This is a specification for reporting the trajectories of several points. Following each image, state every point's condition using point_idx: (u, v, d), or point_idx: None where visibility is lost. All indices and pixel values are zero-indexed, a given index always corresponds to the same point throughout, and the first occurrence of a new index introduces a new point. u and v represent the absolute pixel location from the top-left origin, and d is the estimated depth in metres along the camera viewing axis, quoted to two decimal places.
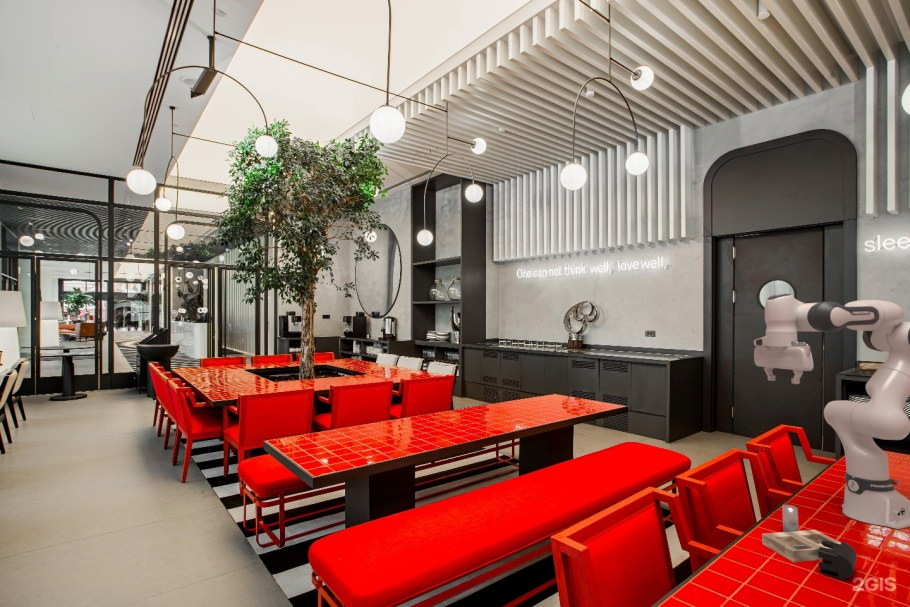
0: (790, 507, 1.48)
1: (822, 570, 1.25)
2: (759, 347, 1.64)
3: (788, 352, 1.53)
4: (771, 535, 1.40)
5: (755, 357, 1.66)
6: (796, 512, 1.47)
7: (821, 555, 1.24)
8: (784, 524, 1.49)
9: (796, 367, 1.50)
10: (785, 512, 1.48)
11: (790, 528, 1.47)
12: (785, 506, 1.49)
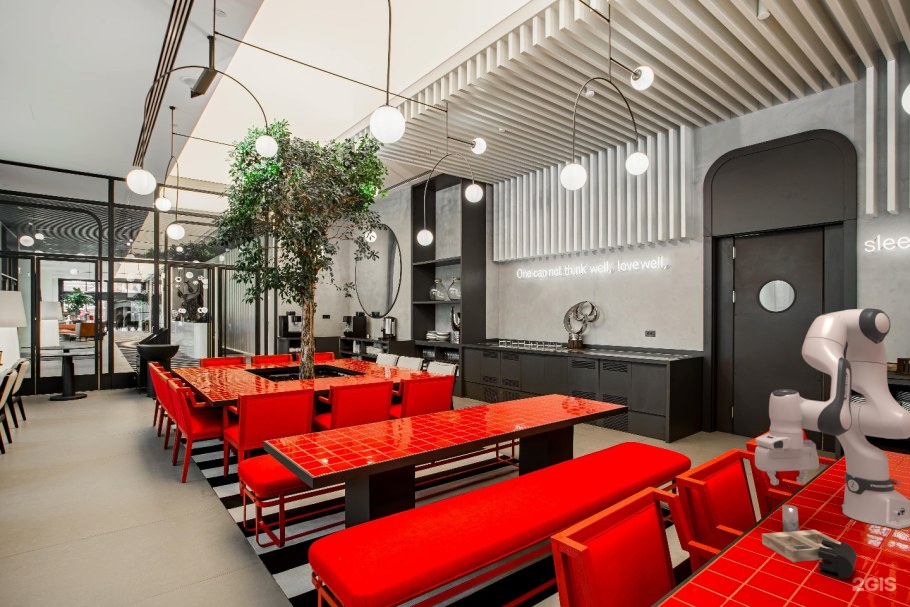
0: (790, 507, 1.48)
1: (822, 570, 1.25)
2: (775, 450, 1.46)
3: (803, 452, 1.49)
4: (771, 535, 1.40)
5: (766, 462, 1.46)
6: (796, 512, 1.47)
7: (821, 555, 1.24)
8: (784, 524, 1.49)
9: (811, 467, 1.49)
10: (785, 512, 1.48)
11: (790, 528, 1.47)
12: (785, 506, 1.49)
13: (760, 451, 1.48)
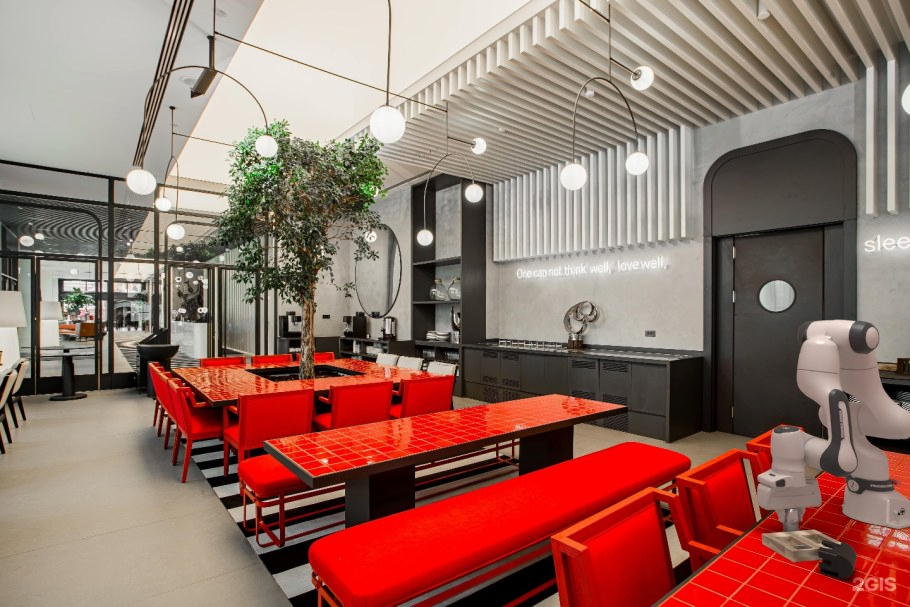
0: None
1: (822, 570, 1.25)
2: (777, 488, 1.46)
3: (805, 489, 1.48)
4: (771, 535, 1.40)
5: (769, 500, 1.46)
6: (796, 512, 1.47)
7: (821, 555, 1.24)
8: (784, 524, 1.49)
9: (814, 504, 1.48)
10: (785, 512, 1.48)
11: (790, 528, 1.47)
12: None
13: (762, 489, 1.48)
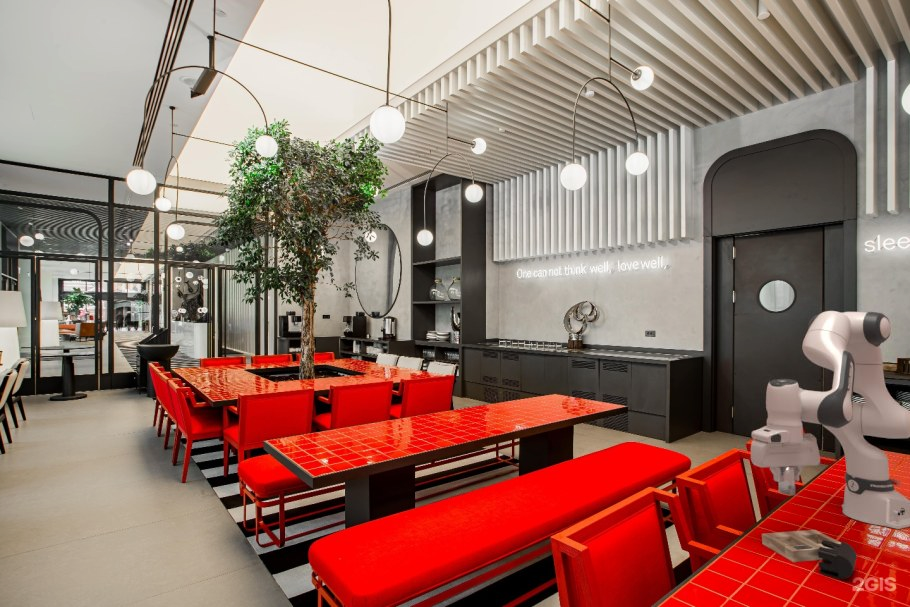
0: None
1: (822, 570, 1.25)
2: (772, 444, 1.35)
3: (802, 446, 1.38)
4: (771, 535, 1.40)
5: (763, 457, 1.35)
6: (792, 470, 1.37)
7: (821, 555, 1.24)
8: (779, 484, 1.38)
9: (812, 462, 1.38)
10: (781, 470, 1.38)
11: (786, 488, 1.36)
12: None
13: (756, 445, 1.38)
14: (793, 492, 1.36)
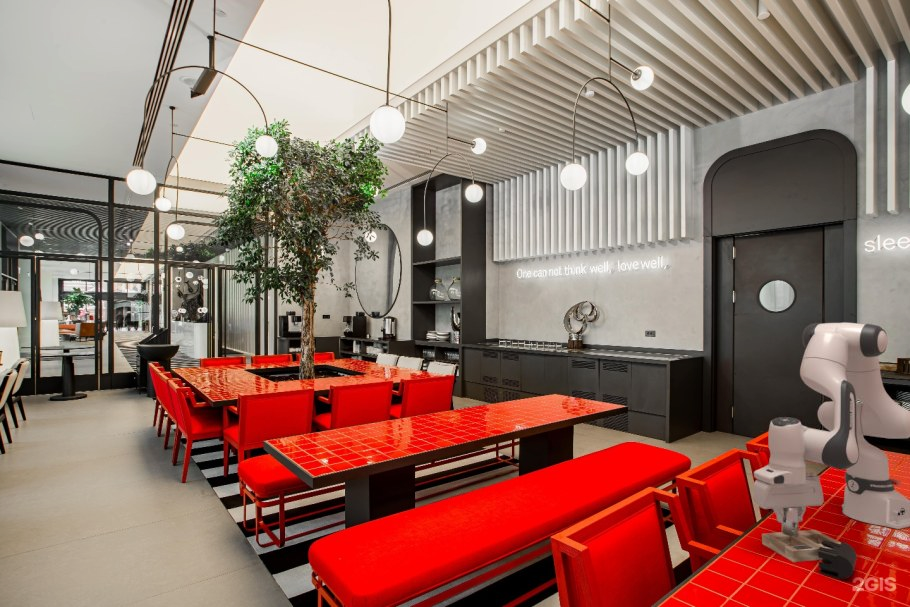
0: None
1: (822, 570, 1.25)
2: (775, 485, 1.33)
3: (805, 487, 1.36)
4: (771, 535, 1.40)
5: (766, 498, 1.34)
6: (796, 511, 1.35)
7: (821, 555, 1.24)
8: (783, 524, 1.36)
9: (815, 503, 1.36)
10: (784, 511, 1.36)
11: (790, 529, 1.35)
12: None
13: (759, 486, 1.36)
14: (796, 533, 1.34)
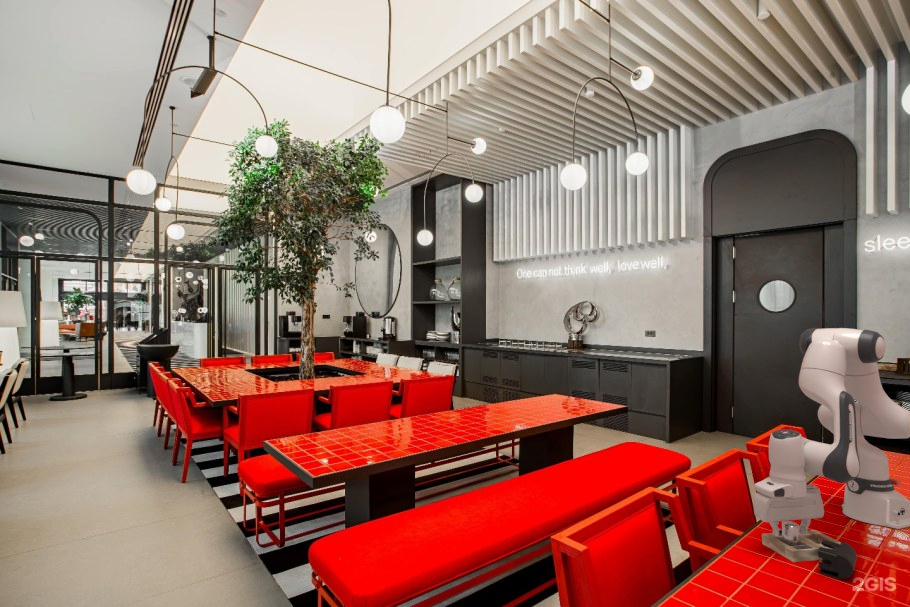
0: (790, 524, 1.36)
1: (822, 570, 1.25)
2: (776, 498, 1.33)
3: (806, 499, 1.36)
4: (771, 535, 1.40)
5: (766, 511, 1.33)
6: (797, 529, 1.35)
7: (821, 555, 1.24)
8: (784, 542, 1.36)
9: (816, 515, 1.36)
10: (785, 529, 1.36)
11: None
12: (785, 522, 1.37)
13: (759, 499, 1.36)
14: None
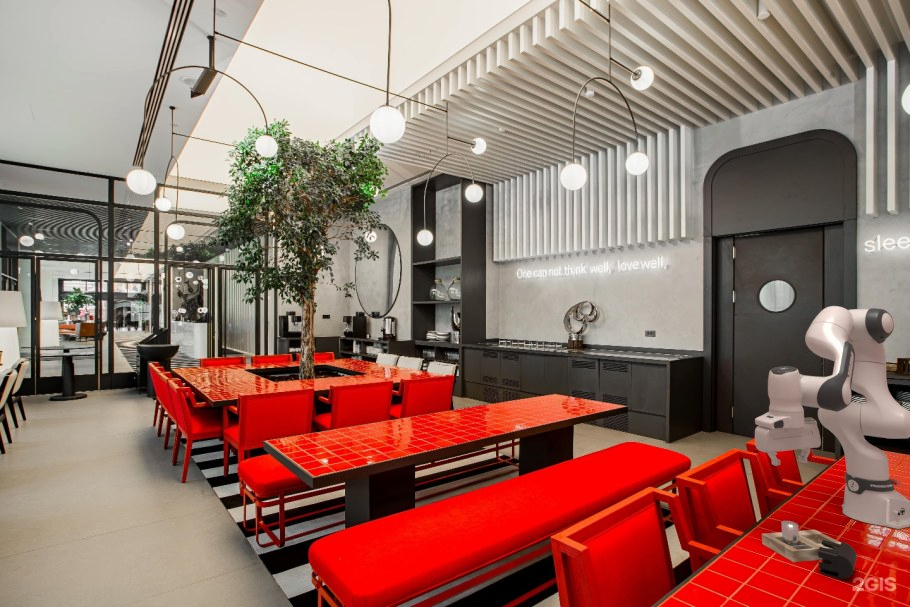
0: (790, 524, 1.36)
1: (822, 570, 1.25)
2: (775, 430, 1.41)
3: (804, 430, 1.43)
4: (771, 535, 1.40)
5: (767, 442, 1.41)
6: (797, 529, 1.35)
7: (821, 555, 1.24)
8: (784, 542, 1.36)
9: (813, 445, 1.44)
10: (784, 529, 1.36)
11: None
12: (784, 522, 1.37)
13: (760, 432, 1.43)
14: None
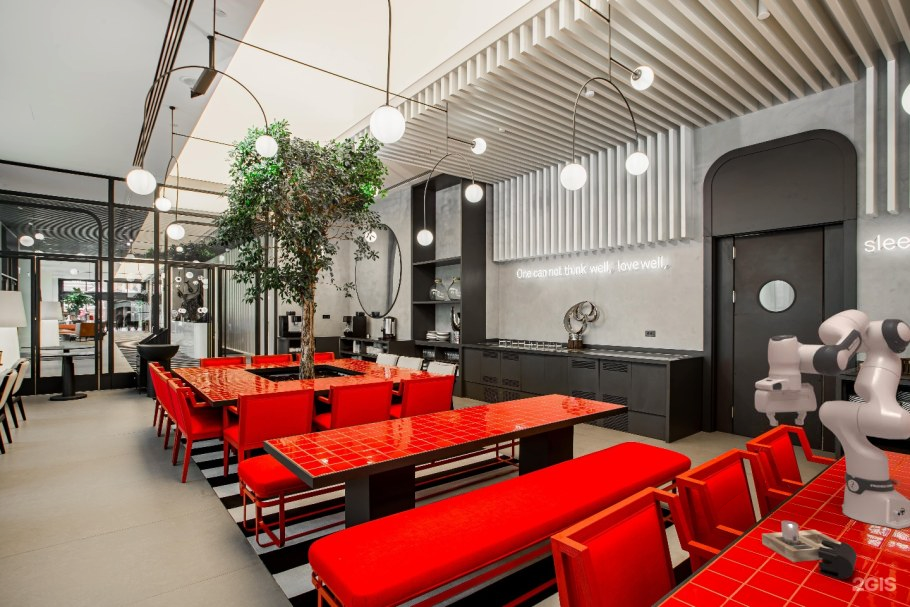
0: (790, 524, 1.36)
1: (822, 570, 1.25)
2: (774, 392, 1.52)
3: (801, 394, 1.54)
4: (771, 535, 1.40)
5: (766, 403, 1.52)
6: (797, 529, 1.35)
7: (821, 555, 1.24)
8: (784, 542, 1.36)
9: (809, 408, 1.54)
10: (785, 528, 1.36)
11: None
12: (784, 522, 1.37)
13: (760, 394, 1.54)
14: None
